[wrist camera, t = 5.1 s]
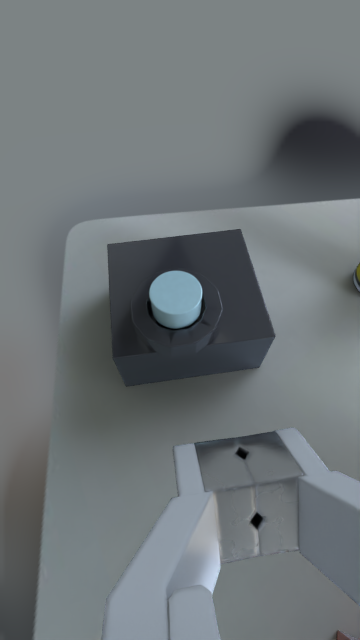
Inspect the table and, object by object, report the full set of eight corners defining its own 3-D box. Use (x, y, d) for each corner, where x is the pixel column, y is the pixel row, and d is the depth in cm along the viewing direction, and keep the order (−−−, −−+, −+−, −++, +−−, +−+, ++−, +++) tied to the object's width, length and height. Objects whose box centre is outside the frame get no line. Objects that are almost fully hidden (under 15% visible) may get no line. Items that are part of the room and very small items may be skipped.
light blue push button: (154, 332, 23) (151, 317, 21) (149, 290, 25) (146, 273, 23) (205, 325, 23) (206, 310, 22) (196, 284, 25) (197, 267, 23)
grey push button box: (126, 392, 29) (108, 355, 22) (119, 285, 35) (102, 228, 28) (261, 373, 30) (284, 331, 23) (232, 271, 35) (243, 213, 28)
